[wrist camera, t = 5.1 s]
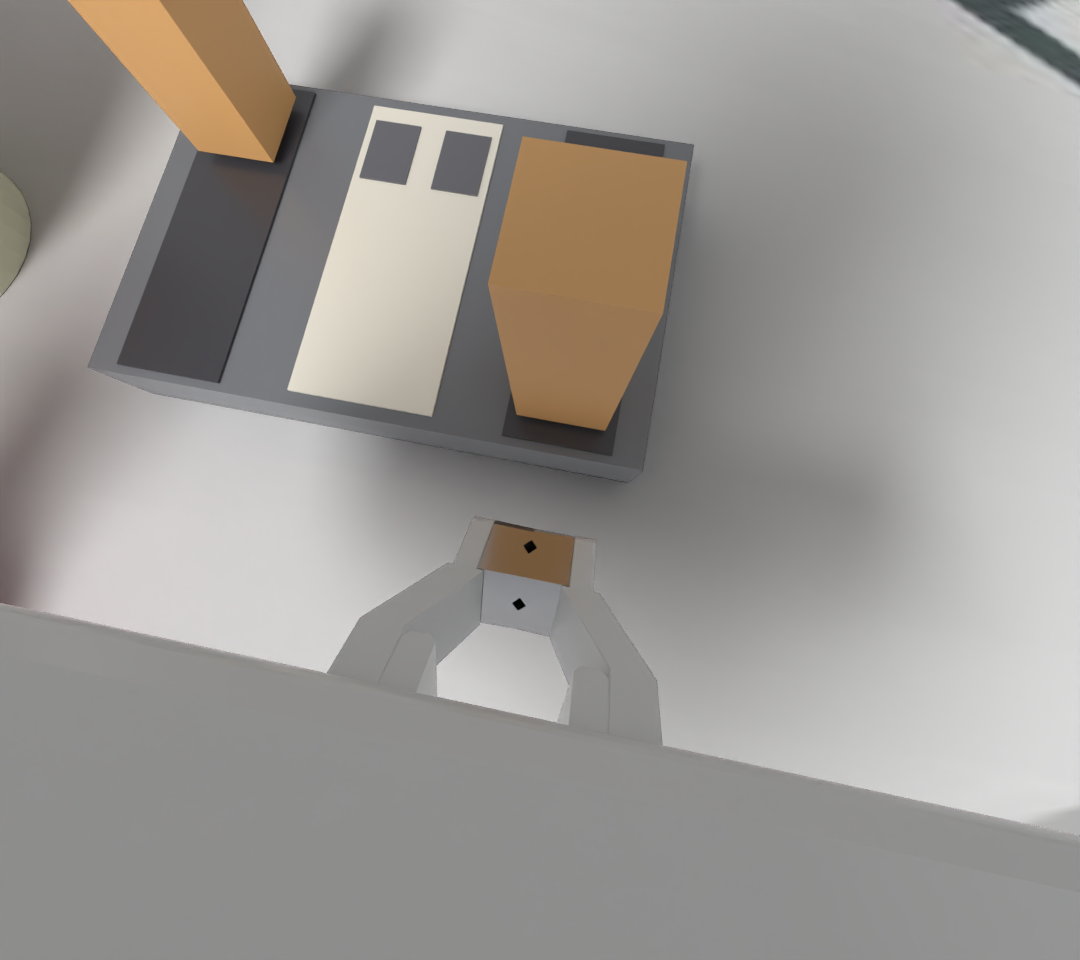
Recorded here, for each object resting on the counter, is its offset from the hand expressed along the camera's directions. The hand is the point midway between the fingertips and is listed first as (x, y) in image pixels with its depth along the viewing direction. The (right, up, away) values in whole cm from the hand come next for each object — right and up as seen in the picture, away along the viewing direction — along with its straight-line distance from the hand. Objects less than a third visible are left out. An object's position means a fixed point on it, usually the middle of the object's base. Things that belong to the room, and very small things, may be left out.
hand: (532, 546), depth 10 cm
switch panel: (-5, +10, +8) cm, 13 cm away
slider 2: (+1, +5, +4) cm, 6 cm away
